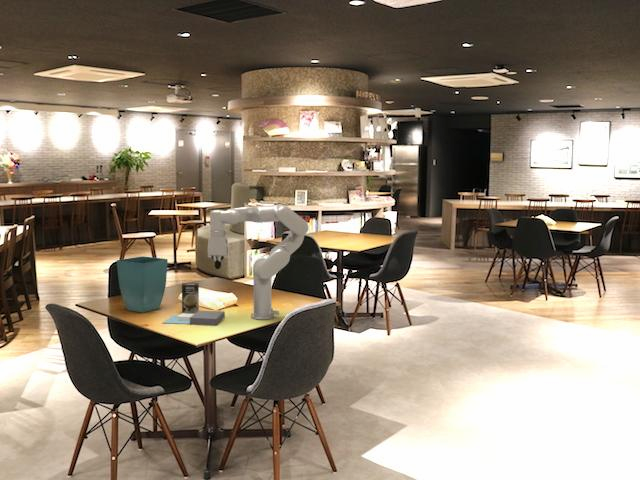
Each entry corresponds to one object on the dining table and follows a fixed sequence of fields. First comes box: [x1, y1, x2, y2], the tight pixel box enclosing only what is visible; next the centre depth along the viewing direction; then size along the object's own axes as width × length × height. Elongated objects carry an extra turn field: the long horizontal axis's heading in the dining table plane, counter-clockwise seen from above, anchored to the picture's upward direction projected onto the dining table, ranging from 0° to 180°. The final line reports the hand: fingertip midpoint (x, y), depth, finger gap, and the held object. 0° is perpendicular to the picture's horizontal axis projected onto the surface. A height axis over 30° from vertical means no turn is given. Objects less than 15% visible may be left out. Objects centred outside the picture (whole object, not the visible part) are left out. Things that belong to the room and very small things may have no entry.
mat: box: [162, 314, 191, 325], centre depth 331 cm, size 14×16×1 cm
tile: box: [177, 312, 194, 321], centre depth 331 cm, size 8×7×2 cm
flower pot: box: [116, 255, 169, 313], centre depth 351 cm, size 20×20×28 cm
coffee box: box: [181, 282, 200, 314], centre depth 346 cm, size 9×6×16 cm
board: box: [189, 309, 226, 326], centre depth 329 cm, size 14×16×4 cm
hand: (218, 268), depth 330 cm, fingers closed
